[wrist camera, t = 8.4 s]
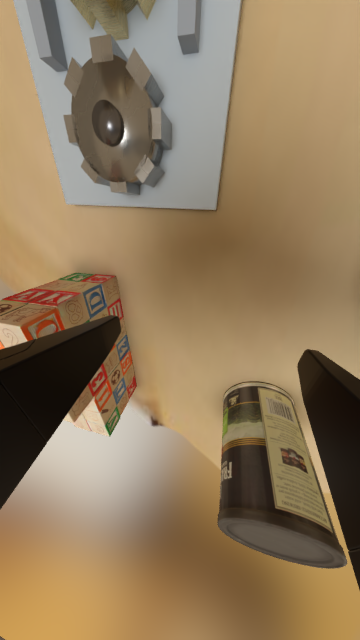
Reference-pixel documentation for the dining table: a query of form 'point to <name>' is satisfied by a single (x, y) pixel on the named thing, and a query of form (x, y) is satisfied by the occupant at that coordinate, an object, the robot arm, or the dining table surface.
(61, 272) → the dining table surface
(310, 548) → the coffee can
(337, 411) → the robot arm
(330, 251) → the dining table surface
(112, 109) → the gear
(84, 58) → the gear board
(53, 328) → the stack of blocks
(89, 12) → the brass gear
